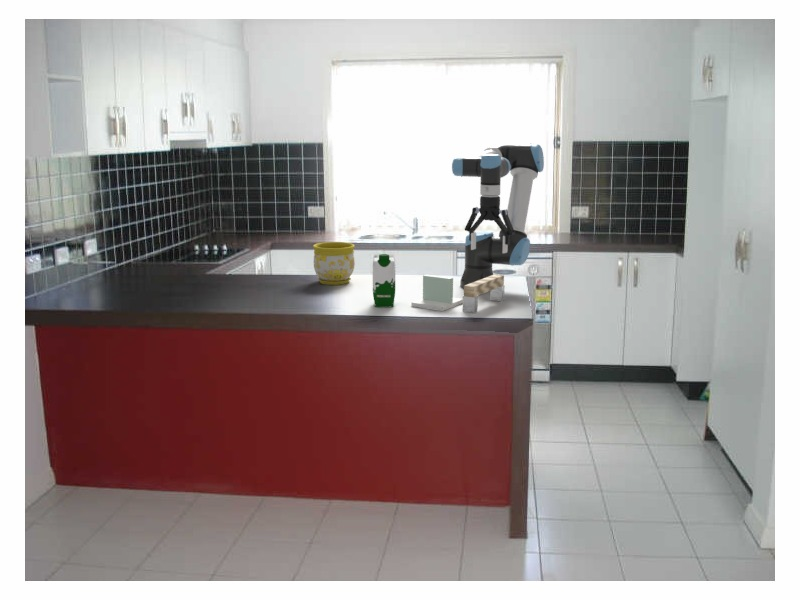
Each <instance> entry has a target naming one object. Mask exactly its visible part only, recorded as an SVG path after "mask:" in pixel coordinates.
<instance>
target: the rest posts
mask: <svg viewBox="0 0 800 600" xmlns="http://www.w3.org/2000/svg"><path fill="white" fill-rule="evenodd" d="M478 298H479V295H478V296H476V297H466V296H464V295H462V299H463V303H462V312H463V313H470V314H476V313H478V302H479V301H478ZM489 300H490V301H494V302H496V301H497V302H503V301H505V284H504V285H503V286H501V287H498V288H496V289H493V290H491V291H489Z"/></svg>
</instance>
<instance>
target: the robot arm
mask: <svg viewBox="0 0 800 600" xmlns="http://www.w3.org/2000/svg"><path fill="white" fill-rule="evenodd" d="M544 158H545V157H544V151H543V148H542V146H541V145H540V144H536V143H506V142H505V143H500V144H497V145H496V144H495V145H494V146H490V147H487V148H485V149H484V150H483V151H482V152H479V153H475V154H473V155H469V156H456V157H454V158H453V160H452V163H451V170H452V171H451V172H452V174H453V176H456V177H470V178H473V177H475V178H480V193H479V194H480V197H479V205H480V206H479V207H477V206H475V207H473V208H472V211H471V214H470V217H469V218H468V221H467V223H466V225H465V227H464V231H466V232H468V234H467V235H466V236H465V244H464V270H463V273H462V276H461V278H460V285H459V287H461V288H462V289H464V286H465V285H467V284H470V283H473V282H475V281H478V280H481V279H483V278H486V277H489V276H491V275H494V274H495V273H494V270H493V264H494V265H506V266H512V267H513V266H523V265H524V264H525V262H527V259H528V257H529V255H530V247H531V241H530V239H529V238H528V233H526V231H525V230H526V229H525V228H526V222H527V218H528V212H529V207H530V206H529V205H530V200H531V193H532V190H533V189H532V188H533V182H534V180H535V179H537V178H538V175H539V173H542V172H543V171H544V166H545V164H544V163H545V161H544V160H545V159H544ZM509 173H510V175H511V176H512V181H511V187H510V192H509V199H508V203H507V208H506V209H501V208H500V207H501V197H500V195H501V178H504V177H505V176H507V175H509ZM478 214H480V216H478ZM500 215H501V216H500ZM477 217H478V218H477ZM501 217H502V218H501ZM476 218H477V220H476ZM502 219H503V221H502ZM475 220H476V221H475ZM484 221H492V222H493V221H494V223H496V225H497V226H498V228H499V229H500V231H499V233H498V235H494V232H492V231H481V232H479V231H478V232H476V230H477V229H478V227H479V226H480V225H481V224H482V223H483V222H484Z"/></svg>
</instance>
